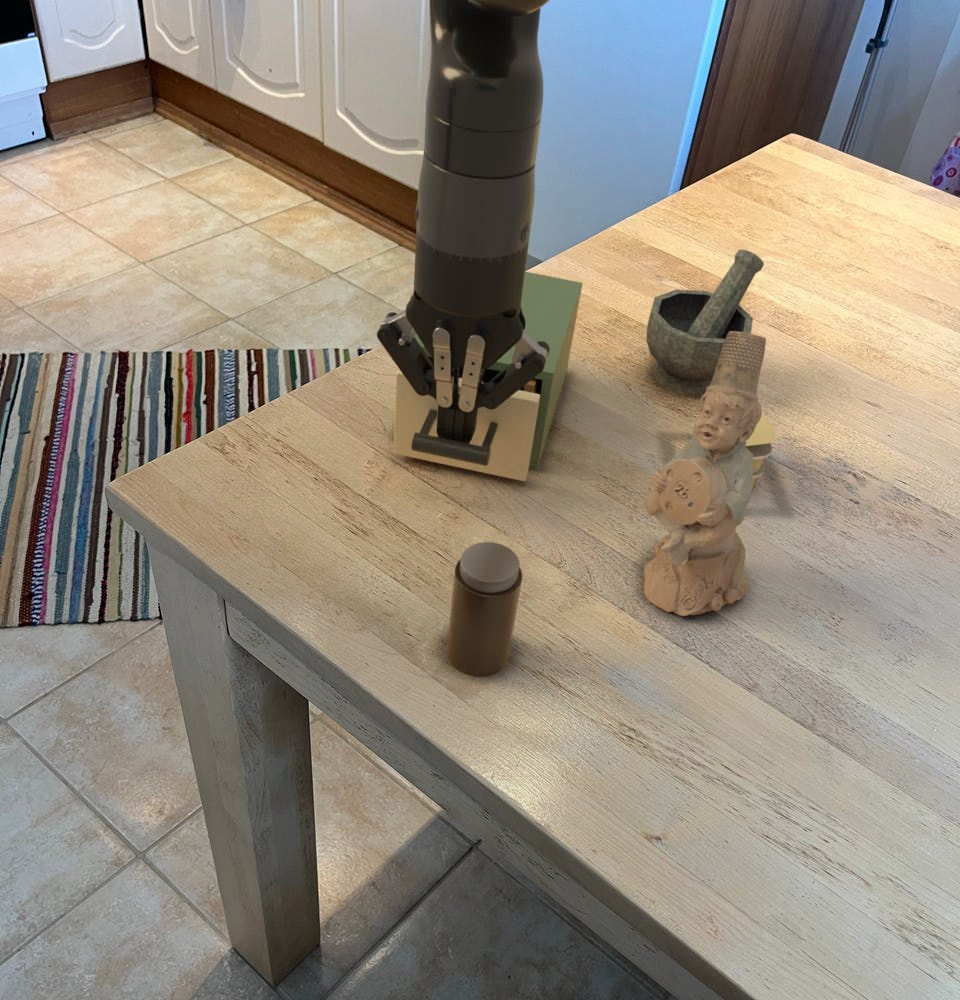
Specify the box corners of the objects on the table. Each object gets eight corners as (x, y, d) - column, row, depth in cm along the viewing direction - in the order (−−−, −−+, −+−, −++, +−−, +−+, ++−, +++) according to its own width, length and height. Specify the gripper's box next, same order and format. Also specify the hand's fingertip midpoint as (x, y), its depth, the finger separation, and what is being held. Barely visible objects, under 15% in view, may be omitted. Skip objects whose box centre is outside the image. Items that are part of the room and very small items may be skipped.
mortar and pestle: (685, 418, 92) (720, 299, 83) (615, 370, 96) (641, 253, 87) (761, 383, 97) (801, 268, 88) (691, 340, 102) (723, 226, 93)
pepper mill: (439, 670, 68) (448, 576, 61) (454, 626, 71) (464, 532, 64) (501, 684, 68) (517, 592, 61) (513, 639, 71) (530, 546, 64)
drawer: (513, 518, 78) (526, 438, 73) (376, 488, 79) (378, 406, 73) (554, 389, 91) (567, 312, 86) (435, 365, 92) (441, 287, 87)
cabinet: (537, 470, 84) (553, 373, 77) (395, 440, 85) (399, 341, 78) (565, 376, 95) (582, 282, 88) (439, 350, 96) (446, 255, 89)
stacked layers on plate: (662, 438, 89) (677, 386, 85) (758, 444, 90) (777, 393, 86) (680, 509, 82) (697, 456, 78) (783, 515, 83) (805, 463, 79)
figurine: (676, 532, 80) (747, 307, 66) (762, 587, 77) (857, 362, 62) (608, 581, 76) (669, 350, 61) (697, 642, 72) (783, 412, 57)
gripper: (580, 220, 67) (544, 432, 79) (392, 185, 68) (387, 399, 80) (563, 270, 62) (528, 488, 74) (360, 232, 63) (360, 452, 75)
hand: (454, 441), depth 77 cm, fingers closed
